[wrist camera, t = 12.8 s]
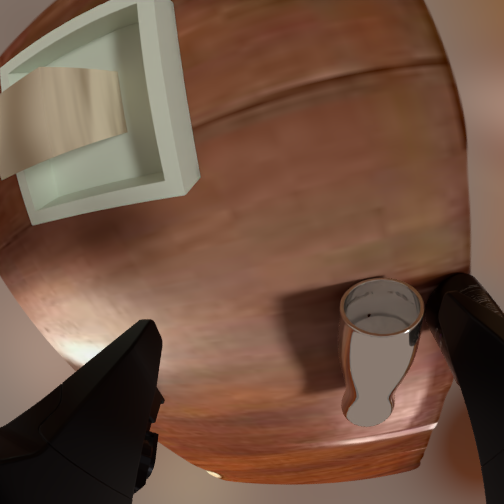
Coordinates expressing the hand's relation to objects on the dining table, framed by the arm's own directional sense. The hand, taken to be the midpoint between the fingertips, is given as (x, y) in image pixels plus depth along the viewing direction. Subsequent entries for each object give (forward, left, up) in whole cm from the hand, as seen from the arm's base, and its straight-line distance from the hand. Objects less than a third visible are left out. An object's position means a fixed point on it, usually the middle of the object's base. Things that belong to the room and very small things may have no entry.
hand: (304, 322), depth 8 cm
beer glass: (+8, -23, -10) cm, 26 cm away
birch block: (-12, +8, -12) cm, 19 cm away
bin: (-12, +8, -13) cm, 19 cm away
